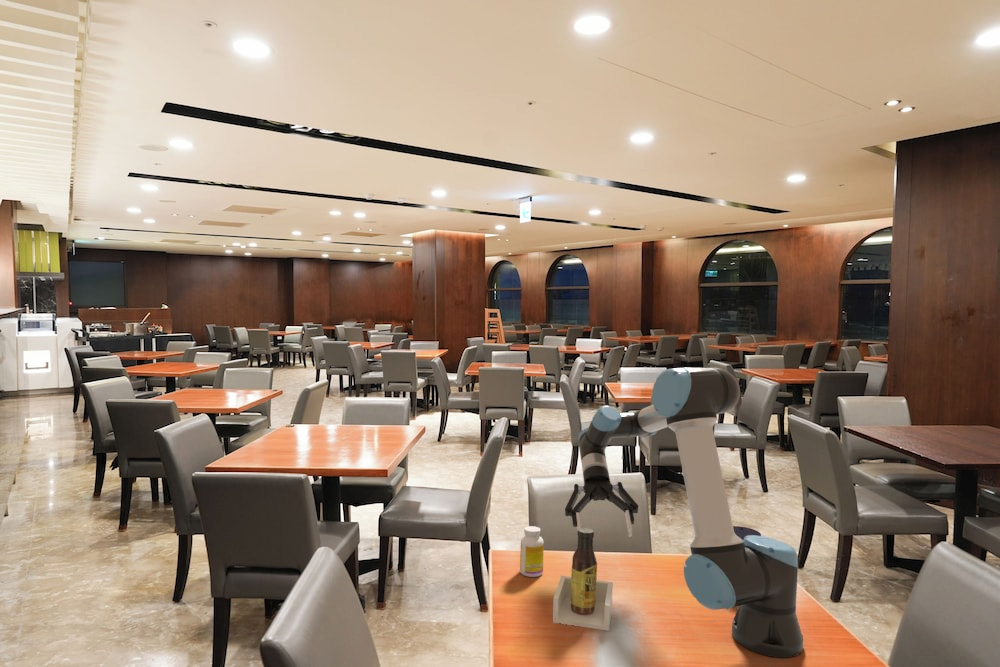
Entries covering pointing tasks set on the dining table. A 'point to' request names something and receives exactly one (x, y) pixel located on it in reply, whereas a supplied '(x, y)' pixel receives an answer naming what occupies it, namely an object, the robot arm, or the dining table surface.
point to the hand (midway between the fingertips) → (605, 534)
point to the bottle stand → (592, 620)
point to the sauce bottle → (584, 574)
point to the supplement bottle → (531, 552)
